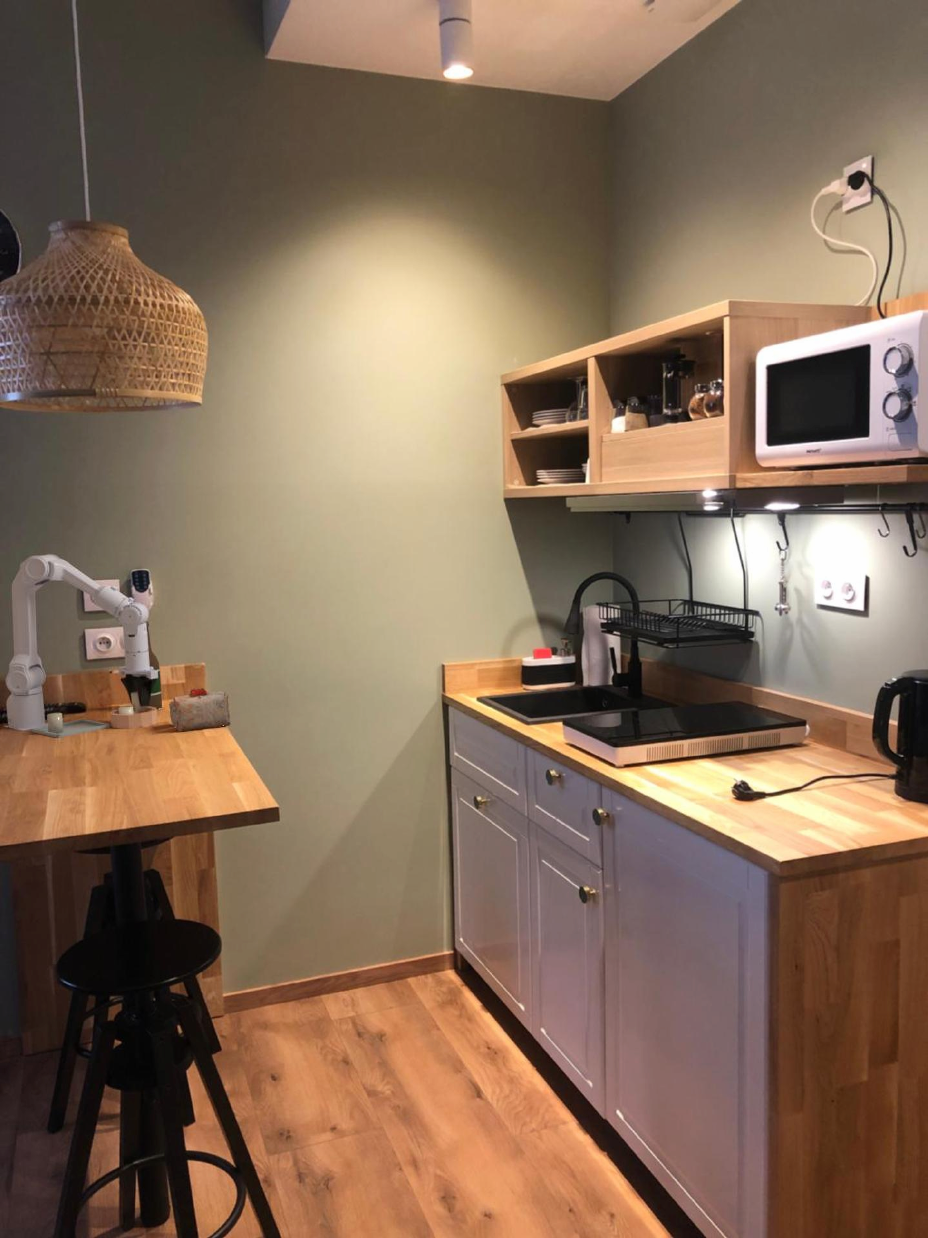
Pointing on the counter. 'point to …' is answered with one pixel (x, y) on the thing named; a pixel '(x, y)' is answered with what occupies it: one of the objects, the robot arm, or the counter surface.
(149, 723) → the bowl
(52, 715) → the white cylinder
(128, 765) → the counter surface
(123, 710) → the cream white cylinder
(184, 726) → the weathered grey box
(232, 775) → the counter surface
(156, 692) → the beer bottle
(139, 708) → the glossy cream rounded cylinder
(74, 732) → the tray
